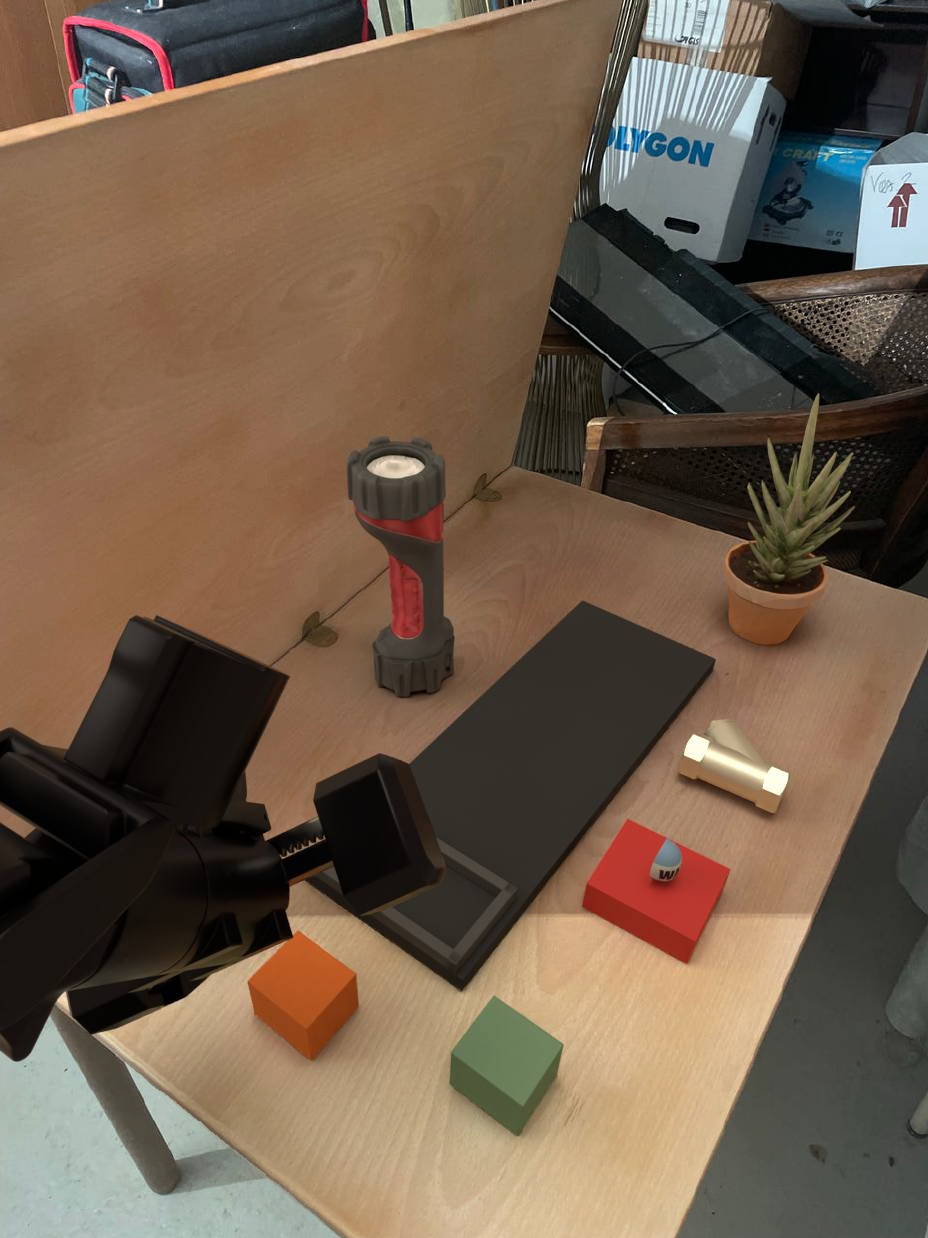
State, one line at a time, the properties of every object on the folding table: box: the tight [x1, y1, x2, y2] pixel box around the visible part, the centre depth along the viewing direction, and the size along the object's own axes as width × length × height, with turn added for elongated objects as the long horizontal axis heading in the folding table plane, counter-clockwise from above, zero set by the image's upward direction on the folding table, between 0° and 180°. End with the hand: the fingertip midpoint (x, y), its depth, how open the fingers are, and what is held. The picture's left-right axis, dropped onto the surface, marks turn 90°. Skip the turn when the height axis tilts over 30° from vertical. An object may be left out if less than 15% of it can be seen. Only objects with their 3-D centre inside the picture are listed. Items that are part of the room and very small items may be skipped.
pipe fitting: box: [677, 718, 792, 814], centre depth 73 cm, size 8×4×7 cm
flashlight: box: [346, 435, 456, 698], centre depth 75 cm, size 8×8×23 cm
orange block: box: [247, 930, 360, 1062], centre depth 56 cm, size 4×5×4 cm
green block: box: [448, 995, 565, 1137], centre depth 53 cm, size 4×5×4 cm
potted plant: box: [722, 393, 856, 646], centre depth 82 cm, size 10×10×25 cm
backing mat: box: [305, 599, 717, 992], centre depth 74 cm, size 40×14×3 cm, turn 144°
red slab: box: [581, 818, 732, 965], centre depth 63 cm, size 8×7×6 cm
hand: (324, 891), depth 49 cm, fingers open, 9 cm apart
